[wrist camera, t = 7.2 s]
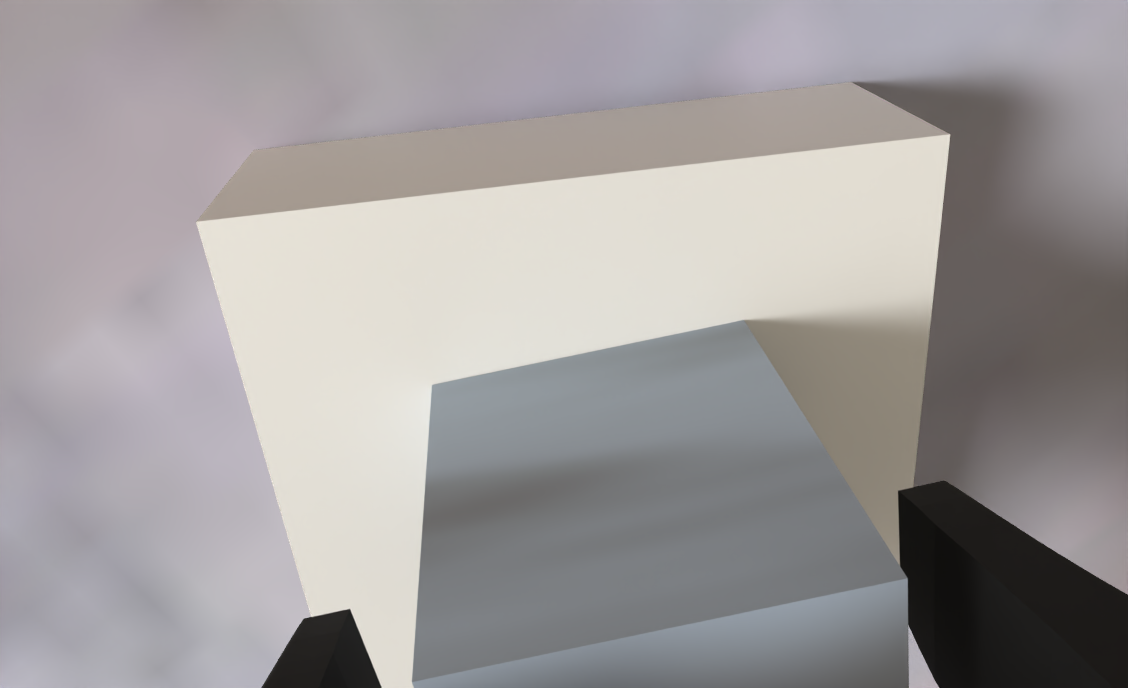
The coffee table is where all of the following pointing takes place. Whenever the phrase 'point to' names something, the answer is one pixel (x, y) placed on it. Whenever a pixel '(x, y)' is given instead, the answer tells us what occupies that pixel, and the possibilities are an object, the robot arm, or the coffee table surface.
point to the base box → (566, 294)
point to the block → (647, 531)
